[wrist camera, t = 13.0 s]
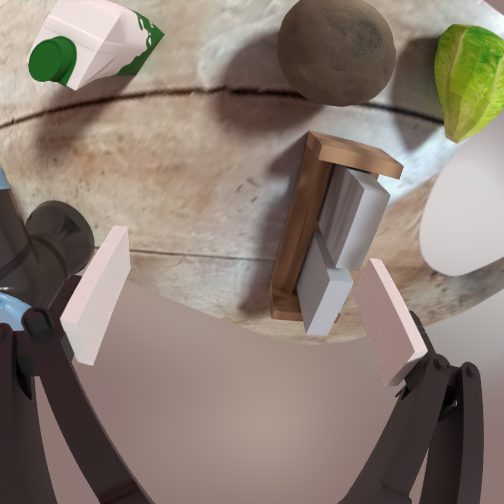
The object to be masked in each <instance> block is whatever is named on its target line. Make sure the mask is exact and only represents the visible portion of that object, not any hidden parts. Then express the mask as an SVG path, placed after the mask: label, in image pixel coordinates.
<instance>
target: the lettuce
mask: <svg viewBox="0 0 504 504" xmlns="http://www.w3.org/2000/svg"><path fill="white" fill-rule="evenodd" d="M434 76H435V81H436V87H437V91H438V95H439V100H440V104H441V107H442V110H443V113H444V126H445V135H446V138H448V139H450V140H451V141H453V142H455V143H456V144H457V143H460V142H461V141H463V140H464V139H466V138H468V137H470V136H472V135H474V134H476V133H478V132H479V131H480V130H482V129H483V128H484V127H485V126H486V125H487V124H488V123H489V122H490V121H492V120H493V119H494V118H495V117H496V116H497V115H498V114H500V113H501V111H502V109H503V108H504V40H503V39H501V38H500V37H499V36H498V35H496V34H494V33H493V32H491V31H489V30H487V29H484V28H482V27H479V26H473V25H461V24H453V25H451V26H450V27H449V28H448V29H447V30H446V31H445V32H444V33H443V34H442V35H441V36H440V37H439V41H438V48H437V52H436V56H435V60H434Z"/></svg>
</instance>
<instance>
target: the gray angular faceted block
mask: <svg viewBox="0 0 504 504" xmlns="http://www.w3.org/2000/svg"><path fill="white" fill-rule="evenodd" d="M353 283H354V282H353V280H352V277H351V275H350V273H349V270H348V269H342V268H335V266H334V263H333V260H332V258H331V255H330V253H329V250H328V248H327V245H326V243H325V240H324V238H323V235H322V233H317V232H313V234H312V237H311V240H310V243H309V246H308V249H307V252H306V255H305V258H304V261H303V264H302V267H301V270H300V272H299V275H298V278H297V281H296V288H297V292H298V297H299V302H300V307H301V312H302V317H303V322H304V327H305V332H306V334H307V335H325V336H327V334H328V333H329V331H330V329H331V327H332V325H333V323H334V321H335V319H336V317H337V315H338V313H339V311H340V310H341V308H342V306H343V304H344V302H345V300H346V298H347V295H348V293H349V291H350V289H351V287H352V285H353Z"/></svg>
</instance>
